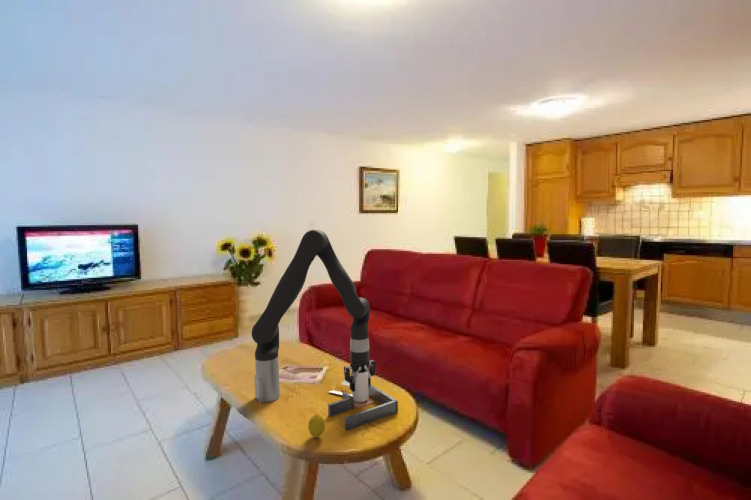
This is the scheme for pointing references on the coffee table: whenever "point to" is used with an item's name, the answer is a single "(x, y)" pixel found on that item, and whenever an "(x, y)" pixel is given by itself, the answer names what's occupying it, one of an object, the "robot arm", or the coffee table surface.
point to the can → (361, 387)
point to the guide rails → (368, 415)
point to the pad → (363, 403)
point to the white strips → (342, 390)
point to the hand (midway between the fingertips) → (360, 388)
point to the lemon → (316, 425)
